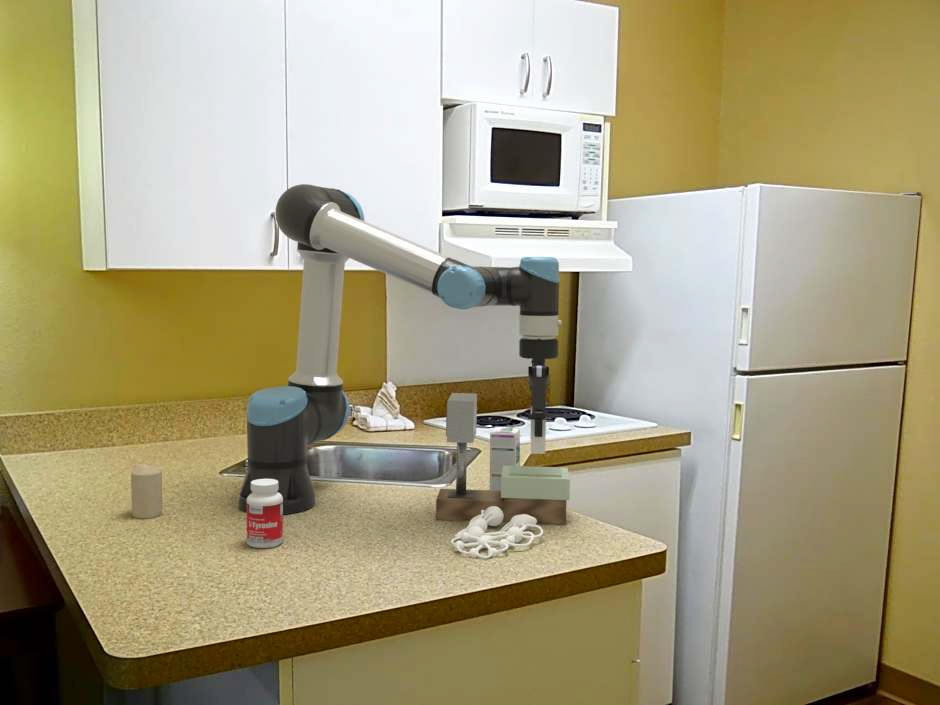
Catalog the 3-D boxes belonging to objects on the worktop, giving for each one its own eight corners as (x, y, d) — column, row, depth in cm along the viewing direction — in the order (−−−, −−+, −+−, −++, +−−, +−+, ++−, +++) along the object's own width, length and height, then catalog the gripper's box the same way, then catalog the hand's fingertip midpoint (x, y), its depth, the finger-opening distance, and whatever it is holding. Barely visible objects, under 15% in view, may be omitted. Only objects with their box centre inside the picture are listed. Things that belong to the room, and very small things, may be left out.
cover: (500, 497, 161) (501, 475, 160) (502, 485, 170) (502, 463, 170) (569, 500, 160) (569, 477, 159) (567, 487, 169) (567, 465, 169)
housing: (435, 519, 163) (436, 494, 162) (440, 507, 171) (440, 483, 170) (565, 524, 161) (566, 499, 161) (563, 512, 169) (564, 488, 168)
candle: (168, 512, 164) (167, 462, 163) (149, 520, 159) (148, 468, 158) (145, 509, 166) (144, 459, 165) (125, 517, 161) (124, 465, 160)
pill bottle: (243, 549, 144) (243, 486, 143) (249, 538, 150) (249, 477, 149) (280, 549, 144) (280, 486, 143) (285, 537, 150) (285, 477, 149)
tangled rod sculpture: (504, 574, 138) (506, 550, 138) (430, 551, 145) (432, 528, 145) (552, 539, 155) (554, 517, 154) (484, 520, 162) (486, 499, 161)
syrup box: (515, 500, 178) (517, 432, 176) (488, 498, 179) (489, 430, 177) (519, 493, 183) (521, 427, 182) (493, 491, 184) (494, 425, 183)
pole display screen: (449, 486, 171) (450, 392, 169) (475, 487, 171) (477, 393, 169) (444, 500, 161) (446, 400, 159) (472, 501, 161) (473, 401, 159)
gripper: (561, 342, 149) (559, 460, 151) (556, 332, 174) (554, 433, 176) (518, 342, 150) (517, 459, 152) (520, 332, 174) (518, 433, 177)
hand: (537, 446), depth 164 cm, fingers open, 13 cm apart
